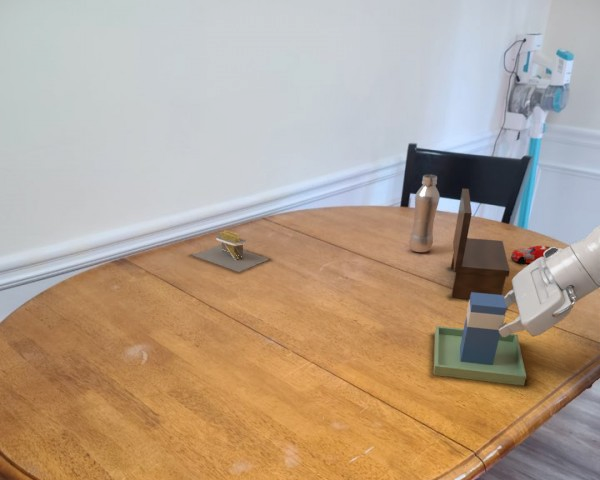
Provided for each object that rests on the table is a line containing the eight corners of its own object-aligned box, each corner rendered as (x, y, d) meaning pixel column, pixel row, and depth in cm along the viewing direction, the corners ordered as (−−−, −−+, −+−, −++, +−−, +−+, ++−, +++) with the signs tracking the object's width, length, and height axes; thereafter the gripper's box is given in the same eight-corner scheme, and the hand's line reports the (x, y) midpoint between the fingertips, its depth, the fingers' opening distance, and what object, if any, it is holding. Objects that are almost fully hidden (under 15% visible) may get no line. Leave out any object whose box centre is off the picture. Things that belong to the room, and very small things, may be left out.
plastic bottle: (402, 250, 158) (412, 175, 147) (418, 245, 162) (428, 172, 150) (420, 256, 154) (431, 180, 143) (436, 251, 158) (448, 176, 146)
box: (491, 351, 112) (504, 295, 105) (493, 365, 107) (507, 308, 100) (459, 347, 113) (470, 291, 106) (460, 361, 108) (471, 304, 101)
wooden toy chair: (495, 270, 147) (513, 191, 135) (502, 303, 131) (522, 216, 119) (448, 266, 149) (462, 188, 137) (449, 298, 133) (464, 212, 121)
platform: (238, 272, 144) (237, 247, 140) (191, 255, 154) (189, 231, 150) (270, 259, 152) (269, 235, 148) (223, 243, 161) (221, 220, 157)
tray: (515, 343, 116) (517, 334, 114) (523, 385, 103) (526, 376, 101) (434, 334, 118) (436, 325, 117) (433, 375, 105) (435, 365, 104)
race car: (511, 263, 151) (514, 249, 149) (508, 256, 155) (512, 242, 153) (563, 267, 149) (567, 252, 147) (559, 259, 154) (563, 245, 151)
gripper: (590, 315, 91) (513, 361, 98) (568, 268, 107) (503, 309, 114) (568, 287, 89) (492, 335, 96) (549, 243, 105) (485, 287, 112)
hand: (498, 321), depth 105 cm, fingers open, 8 cm apart
